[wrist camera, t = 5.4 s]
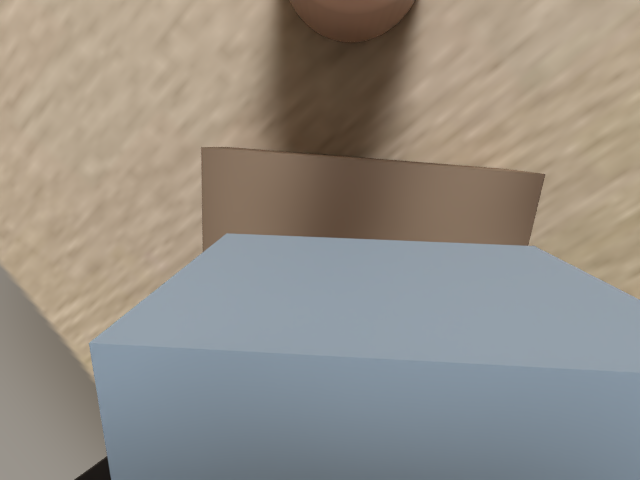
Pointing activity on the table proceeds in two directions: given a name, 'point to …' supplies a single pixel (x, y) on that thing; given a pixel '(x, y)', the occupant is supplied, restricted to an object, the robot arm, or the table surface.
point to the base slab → (363, 198)
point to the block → (372, 366)
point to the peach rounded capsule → (351, 17)
